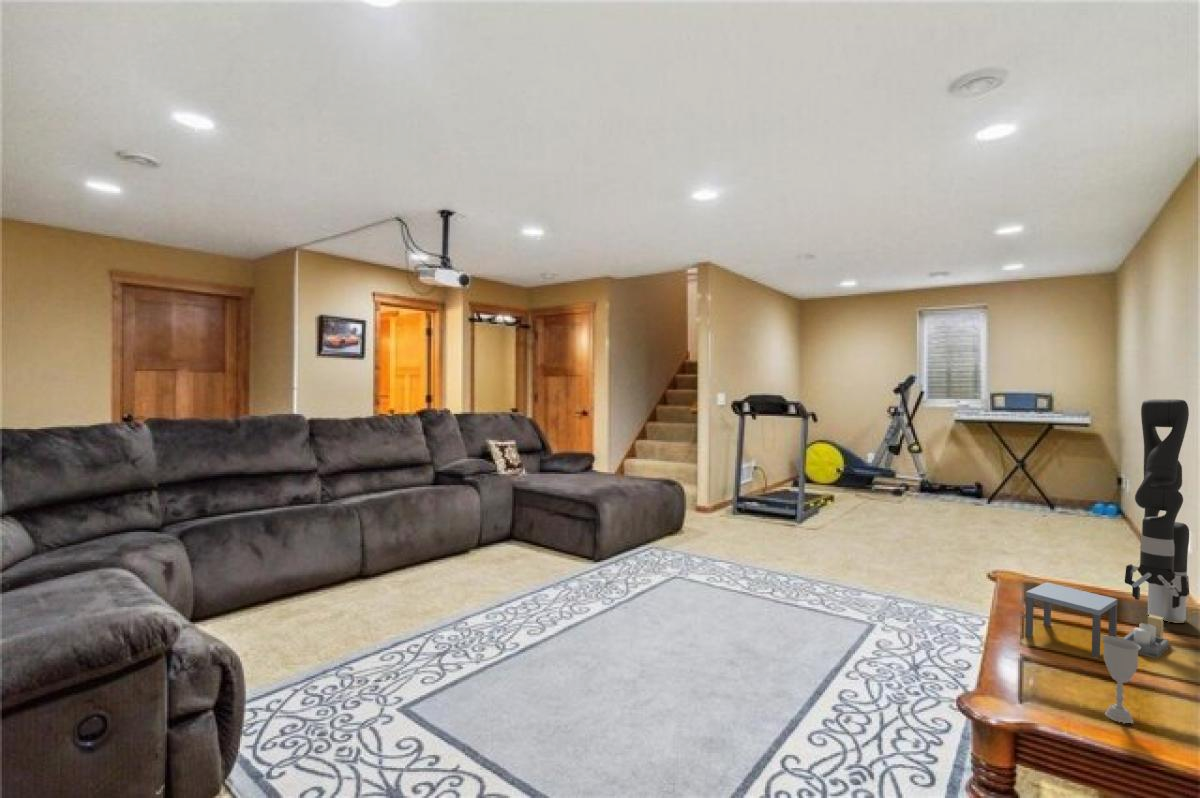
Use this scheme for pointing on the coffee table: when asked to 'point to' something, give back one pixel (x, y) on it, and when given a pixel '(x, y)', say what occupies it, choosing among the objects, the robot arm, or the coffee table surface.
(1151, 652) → the tray
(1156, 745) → the coffee table surface
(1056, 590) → the grey side table
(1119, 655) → the chalice
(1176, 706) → the coffee table surface
